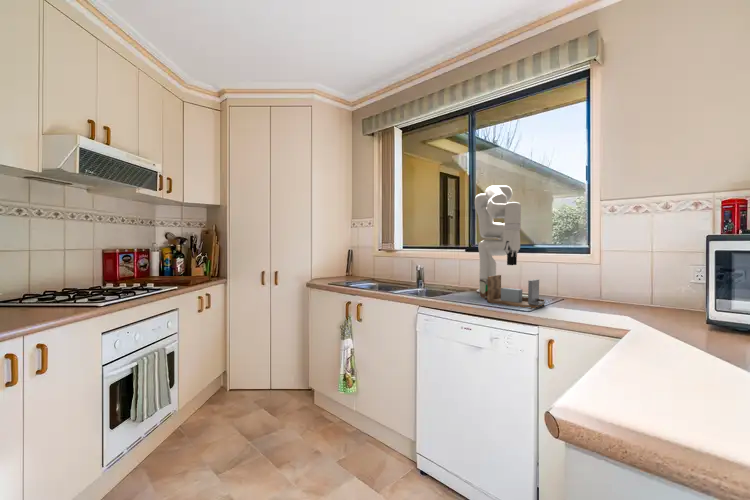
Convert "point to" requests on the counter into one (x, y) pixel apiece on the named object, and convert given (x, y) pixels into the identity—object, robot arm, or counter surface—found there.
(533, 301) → the bookend
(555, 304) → the counter surface
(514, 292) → the grey rectangular block
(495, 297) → the rack
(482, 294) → the food container
